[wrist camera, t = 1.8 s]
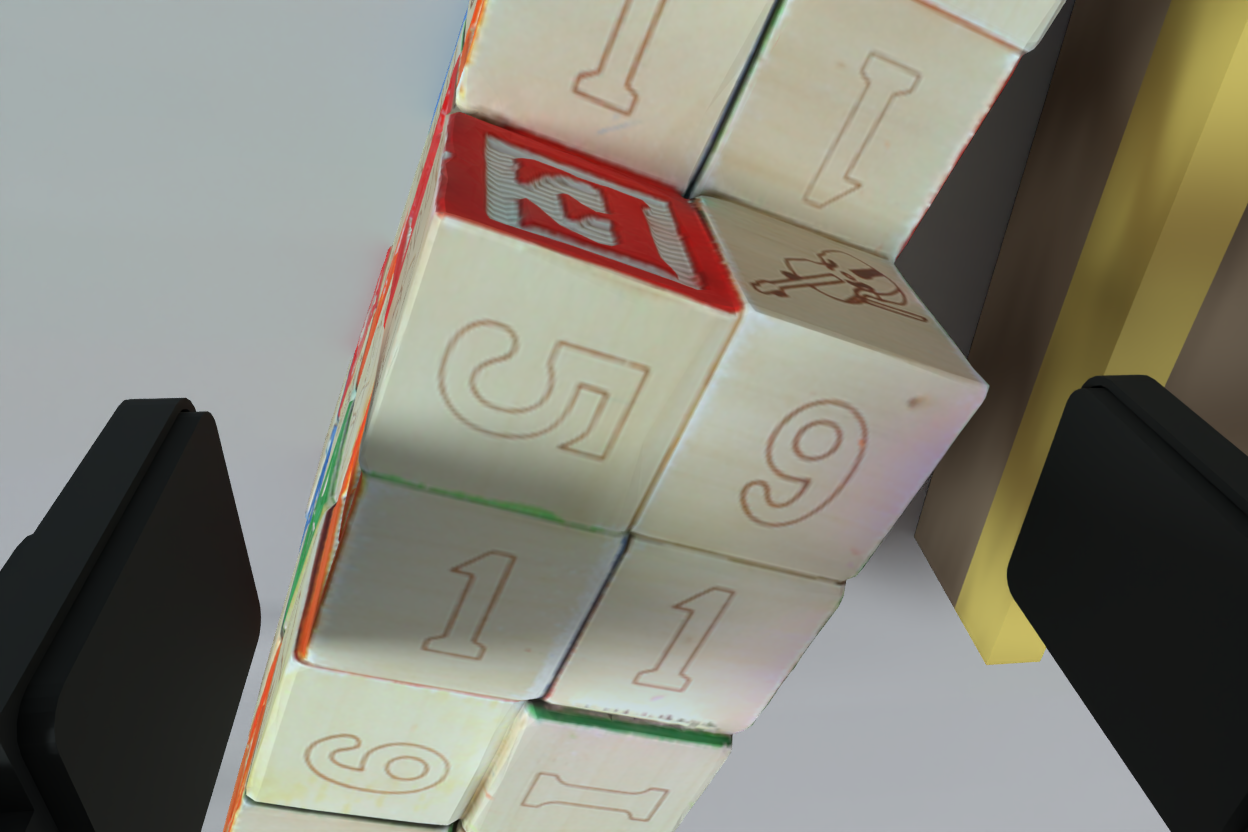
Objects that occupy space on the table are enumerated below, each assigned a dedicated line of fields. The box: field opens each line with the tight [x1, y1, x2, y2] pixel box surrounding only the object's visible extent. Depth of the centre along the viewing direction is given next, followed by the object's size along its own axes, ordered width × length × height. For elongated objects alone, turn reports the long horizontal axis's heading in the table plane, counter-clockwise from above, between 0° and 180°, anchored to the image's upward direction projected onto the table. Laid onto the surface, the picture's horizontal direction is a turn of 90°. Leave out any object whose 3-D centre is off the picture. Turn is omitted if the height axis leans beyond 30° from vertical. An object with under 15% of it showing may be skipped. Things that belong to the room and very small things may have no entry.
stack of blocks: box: [223, 0, 1066, 832], centre depth 14 cm, size 21×6×12 cm, turn 157°
